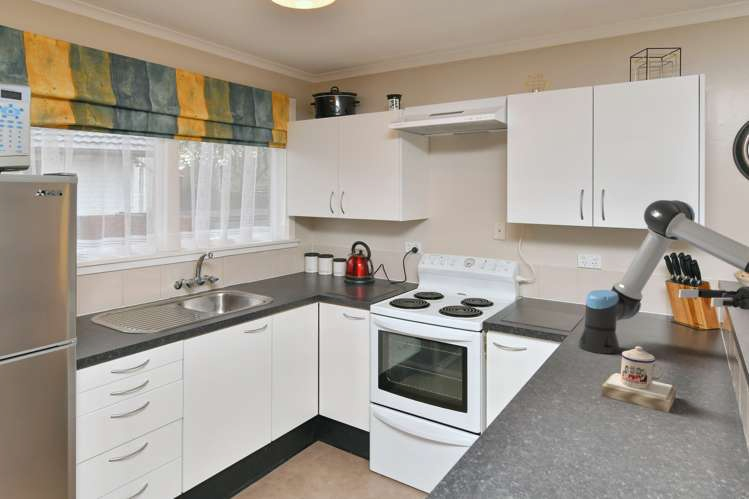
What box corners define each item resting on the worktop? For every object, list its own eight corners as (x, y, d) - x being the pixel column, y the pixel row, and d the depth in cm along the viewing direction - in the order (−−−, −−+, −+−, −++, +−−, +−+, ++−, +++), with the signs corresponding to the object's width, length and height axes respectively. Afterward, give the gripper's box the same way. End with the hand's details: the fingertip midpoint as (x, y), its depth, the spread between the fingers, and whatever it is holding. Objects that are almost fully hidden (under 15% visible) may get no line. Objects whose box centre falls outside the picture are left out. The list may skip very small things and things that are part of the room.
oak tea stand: (601, 395, 152) (602, 383, 152) (612, 383, 163) (613, 371, 163) (668, 412, 141) (669, 398, 141) (675, 397, 152) (676, 385, 152)
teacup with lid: (616, 384, 151) (619, 347, 150) (622, 376, 158) (625, 340, 157) (661, 394, 144) (665, 356, 142) (665, 385, 151) (669, 348, 150)
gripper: (789, 318, 150) (725, 318, 147) (721, 301, 175) (666, 300, 172) (792, 294, 149) (728, 294, 147) (724, 280, 174) (668, 279, 171)
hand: (695, 297), depth 159 cm, fingers open, 13 cm apart
